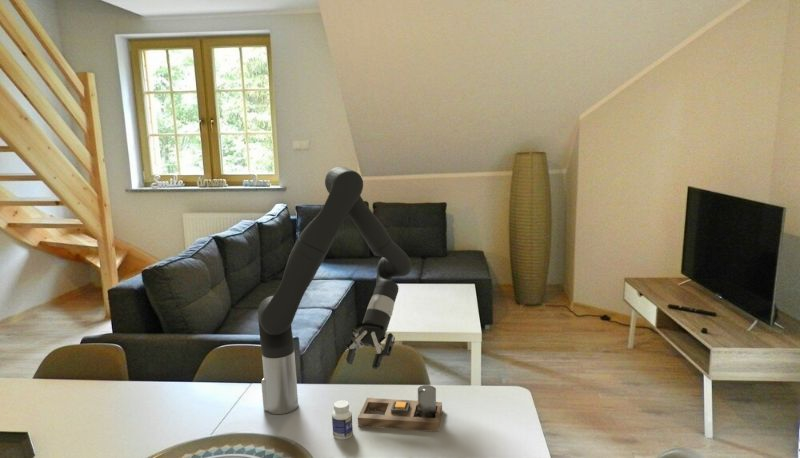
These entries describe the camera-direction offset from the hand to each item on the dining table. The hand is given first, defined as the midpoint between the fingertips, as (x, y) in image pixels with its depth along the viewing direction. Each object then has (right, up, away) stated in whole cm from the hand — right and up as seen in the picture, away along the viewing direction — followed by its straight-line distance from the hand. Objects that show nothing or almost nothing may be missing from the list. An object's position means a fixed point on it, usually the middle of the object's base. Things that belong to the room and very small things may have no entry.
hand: (361, 365), depth 151 cm
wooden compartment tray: (+11, -15, 0) cm, 18 cm away
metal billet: (+18, -15, -2) cm, 23 cm away
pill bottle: (-4, -17, -8) cm, 19 cm away
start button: (+11, -12, -1) cm, 16 cm away
